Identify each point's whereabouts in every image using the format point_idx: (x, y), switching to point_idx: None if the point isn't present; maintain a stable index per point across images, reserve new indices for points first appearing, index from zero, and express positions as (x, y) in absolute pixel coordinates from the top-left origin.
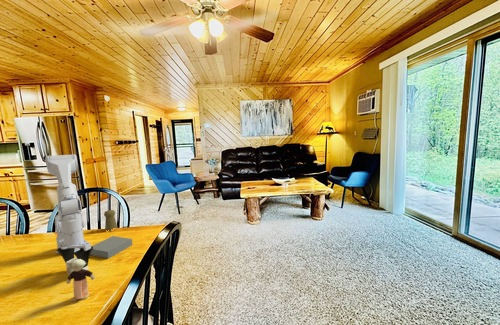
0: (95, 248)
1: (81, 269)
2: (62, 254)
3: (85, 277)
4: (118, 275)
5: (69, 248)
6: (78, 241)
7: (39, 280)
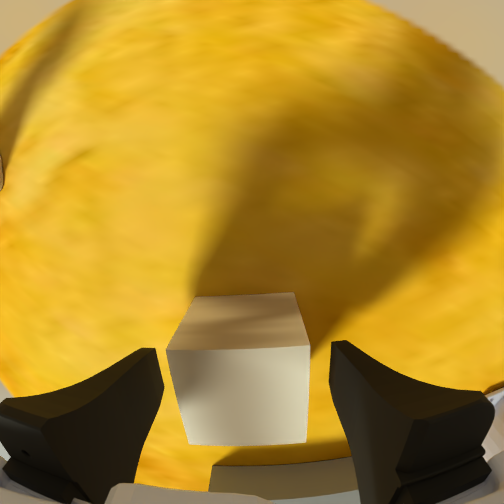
0: (342, 497)
1: None
2: (389, 395)
3: None
4: (8, 358)
5: (377, 483)
6: None
7: (417, 174)
